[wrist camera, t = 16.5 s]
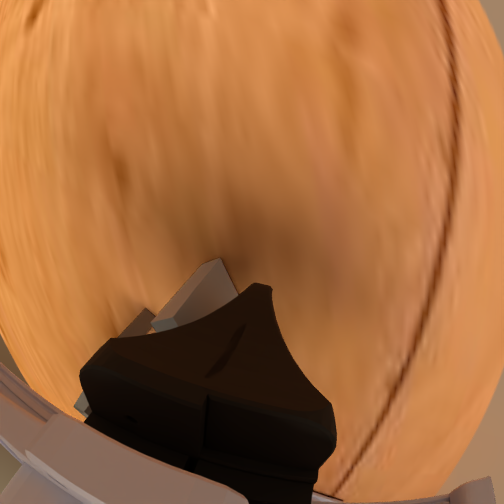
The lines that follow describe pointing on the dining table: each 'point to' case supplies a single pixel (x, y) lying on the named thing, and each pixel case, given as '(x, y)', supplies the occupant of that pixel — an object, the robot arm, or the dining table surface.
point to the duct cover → (197, 297)
